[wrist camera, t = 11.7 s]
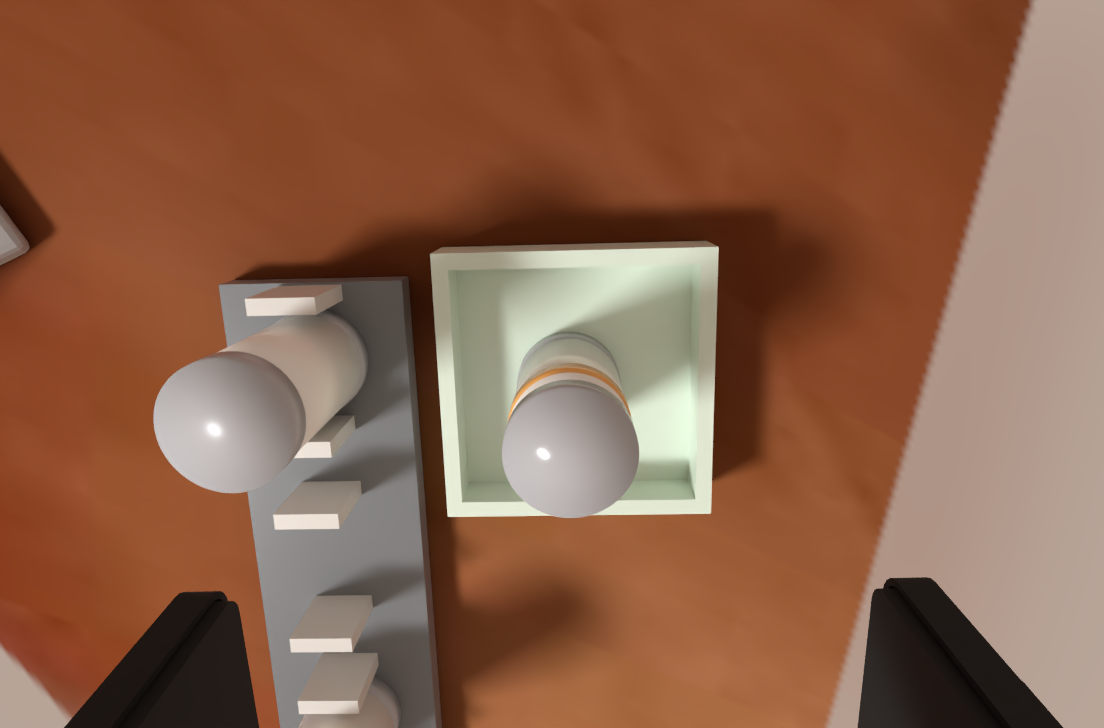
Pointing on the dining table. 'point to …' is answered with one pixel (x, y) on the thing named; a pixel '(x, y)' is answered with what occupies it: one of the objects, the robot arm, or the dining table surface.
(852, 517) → the dining table surface
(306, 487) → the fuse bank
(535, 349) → the cylinder
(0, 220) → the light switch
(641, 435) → the tray
